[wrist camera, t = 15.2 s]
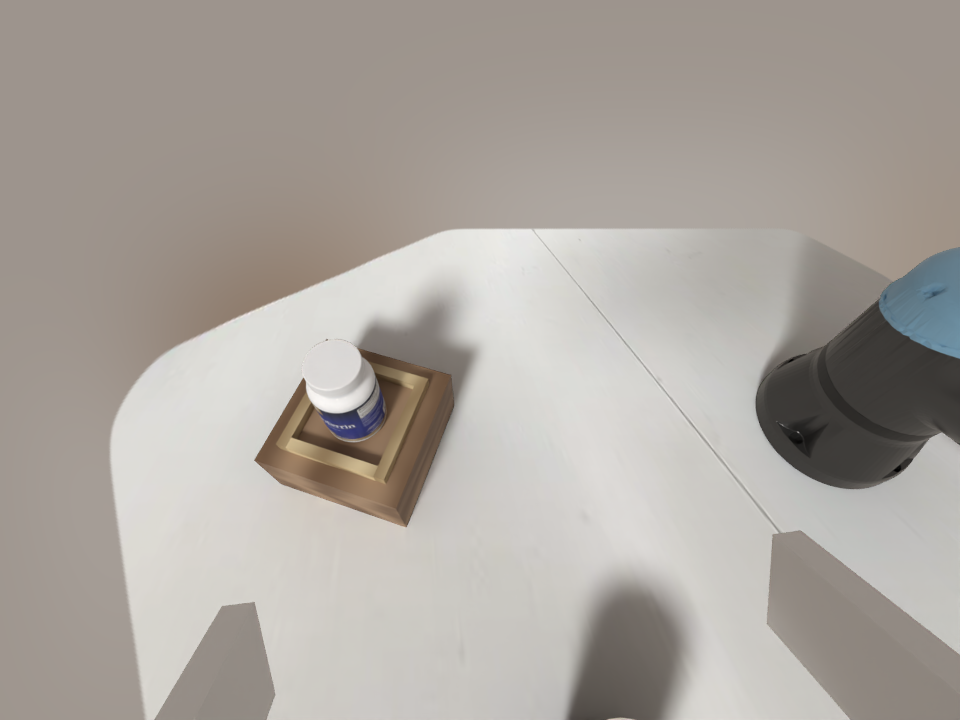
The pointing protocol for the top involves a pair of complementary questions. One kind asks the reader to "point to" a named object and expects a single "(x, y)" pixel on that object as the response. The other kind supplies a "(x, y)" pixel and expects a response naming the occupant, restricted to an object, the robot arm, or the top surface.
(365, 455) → the tray
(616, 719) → the coffee mug
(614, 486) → the top surface
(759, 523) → the top surface
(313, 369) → the pill bottle
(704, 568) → the top surface
